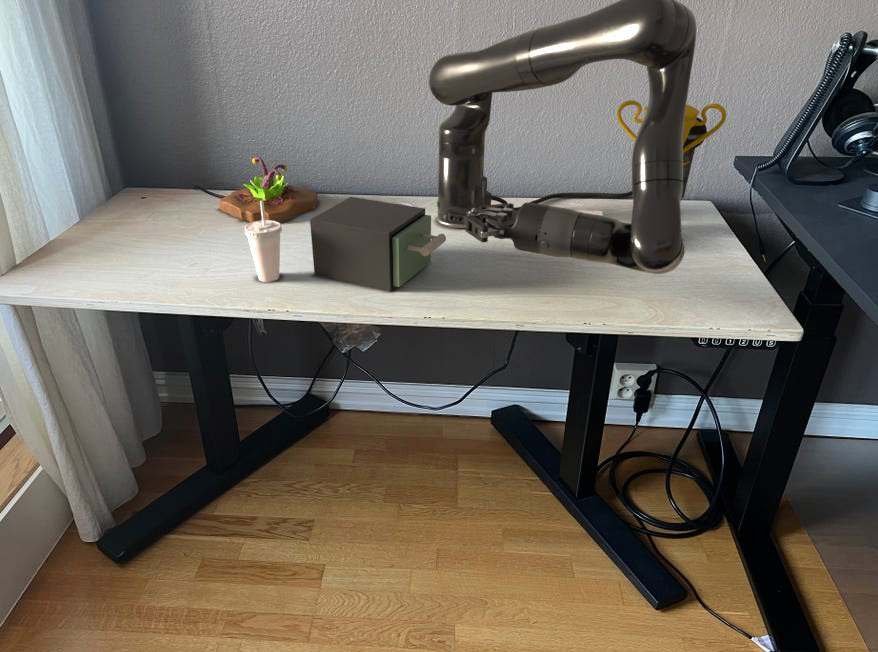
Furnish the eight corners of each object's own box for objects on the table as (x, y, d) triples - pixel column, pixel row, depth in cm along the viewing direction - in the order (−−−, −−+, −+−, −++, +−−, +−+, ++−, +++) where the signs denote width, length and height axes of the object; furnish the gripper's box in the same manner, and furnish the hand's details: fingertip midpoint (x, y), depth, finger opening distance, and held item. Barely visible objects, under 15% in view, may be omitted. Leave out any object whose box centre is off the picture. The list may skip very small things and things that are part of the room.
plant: (269, 188, 173) (264, 141, 168) (331, 202, 163) (327, 153, 158) (206, 211, 160) (198, 161, 154) (268, 228, 150) (262, 176, 144)
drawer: (451, 265, 130) (452, 218, 125) (421, 292, 120) (421, 242, 116) (362, 248, 137) (361, 204, 133) (327, 272, 128) (324, 225, 123)
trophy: (600, 237, 143) (621, 78, 127) (602, 220, 151) (622, 69, 135) (702, 246, 138) (737, 82, 123) (698, 228, 146) (731, 72, 131)
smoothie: (293, 272, 130) (285, 197, 123) (276, 287, 125) (267, 209, 118) (261, 268, 132) (252, 194, 125) (244, 282, 127) (233, 206, 119)
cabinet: (425, 263, 133) (425, 208, 127) (390, 291, 123) (388, 233, 117) (353, 249, 139) (350, 196, 134) (314, 275, 129) (309, 219, 123)
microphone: (694, 210, 156) (714, 115, 146) (686, 219, 151) (706, 122, 141) (662, 204, 159) (679, 111, 149) (654, 213, 154) (670, 118, 144)
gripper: (564, 194, 114) (464, 180, 121) (537, 221, 104) (430, 203, 111) (559, 239, 118) (462, 222, 125) (533, 268, 108) (429, 248, 115)
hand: (447, 213), depth 118 cm, fingers closed
